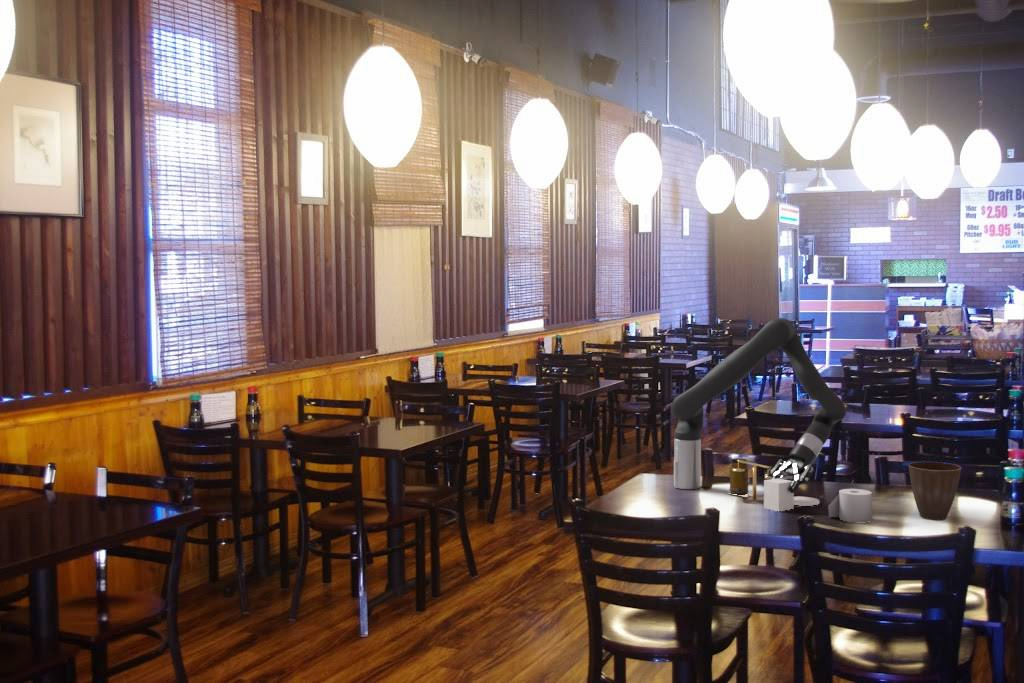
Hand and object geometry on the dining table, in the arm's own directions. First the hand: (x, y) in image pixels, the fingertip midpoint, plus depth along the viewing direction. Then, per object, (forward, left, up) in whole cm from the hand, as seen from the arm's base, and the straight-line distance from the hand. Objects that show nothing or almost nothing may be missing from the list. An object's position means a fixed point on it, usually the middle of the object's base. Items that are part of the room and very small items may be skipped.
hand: (780, 489), depth 331 cm
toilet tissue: (+19, -14, -6) cm, 24 cm away
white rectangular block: (-1, 0, -6) cm, 6 cm away
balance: (-7, +11, -6) cm, 14 cm away
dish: (+8, +9, -6) cm, 14 cm away
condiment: (-10, +22, -6) cm, 25 cm away
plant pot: (+44, -10, -6) cm, 46 cm away
